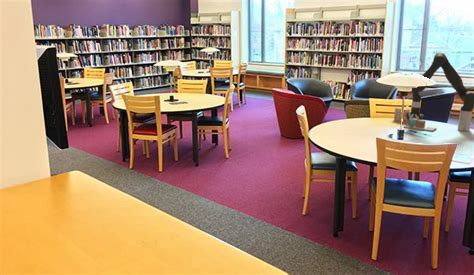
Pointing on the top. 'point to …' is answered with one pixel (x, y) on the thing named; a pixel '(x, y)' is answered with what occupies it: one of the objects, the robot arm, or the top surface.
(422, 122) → the walnut block
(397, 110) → the stack of blocks
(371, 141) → the top surface
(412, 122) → the teal block
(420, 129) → the blueprint board
